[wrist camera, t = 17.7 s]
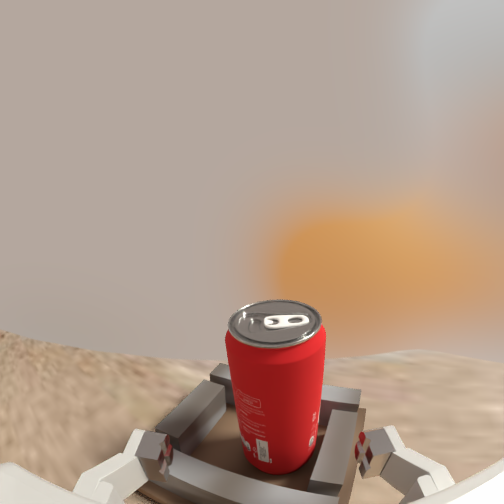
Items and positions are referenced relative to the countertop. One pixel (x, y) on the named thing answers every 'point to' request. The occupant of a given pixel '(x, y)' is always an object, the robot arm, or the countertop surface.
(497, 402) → the countertop surface
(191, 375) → the countertop surface
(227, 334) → the beverage can
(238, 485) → the socket block
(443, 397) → the countertop surface
